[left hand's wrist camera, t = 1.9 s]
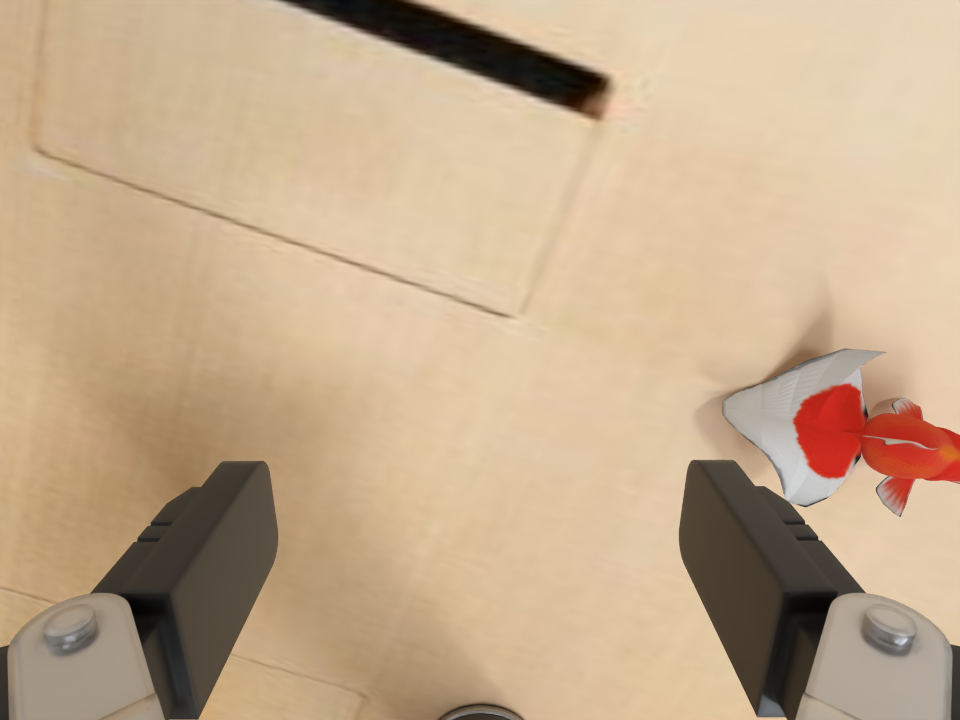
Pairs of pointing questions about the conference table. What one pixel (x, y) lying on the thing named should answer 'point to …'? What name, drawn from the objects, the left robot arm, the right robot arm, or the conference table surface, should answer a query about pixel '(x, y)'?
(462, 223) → the conference table surface
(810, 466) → the fish
